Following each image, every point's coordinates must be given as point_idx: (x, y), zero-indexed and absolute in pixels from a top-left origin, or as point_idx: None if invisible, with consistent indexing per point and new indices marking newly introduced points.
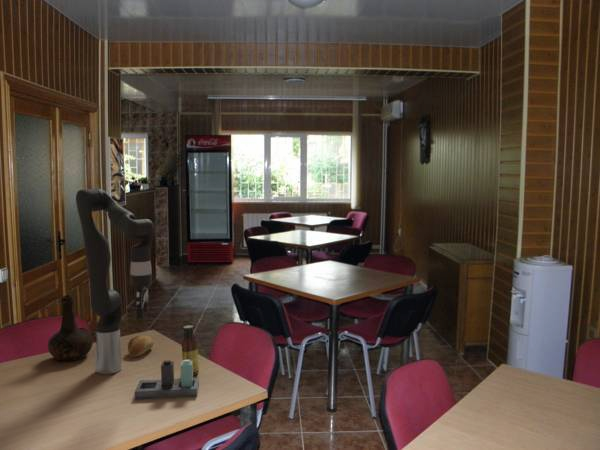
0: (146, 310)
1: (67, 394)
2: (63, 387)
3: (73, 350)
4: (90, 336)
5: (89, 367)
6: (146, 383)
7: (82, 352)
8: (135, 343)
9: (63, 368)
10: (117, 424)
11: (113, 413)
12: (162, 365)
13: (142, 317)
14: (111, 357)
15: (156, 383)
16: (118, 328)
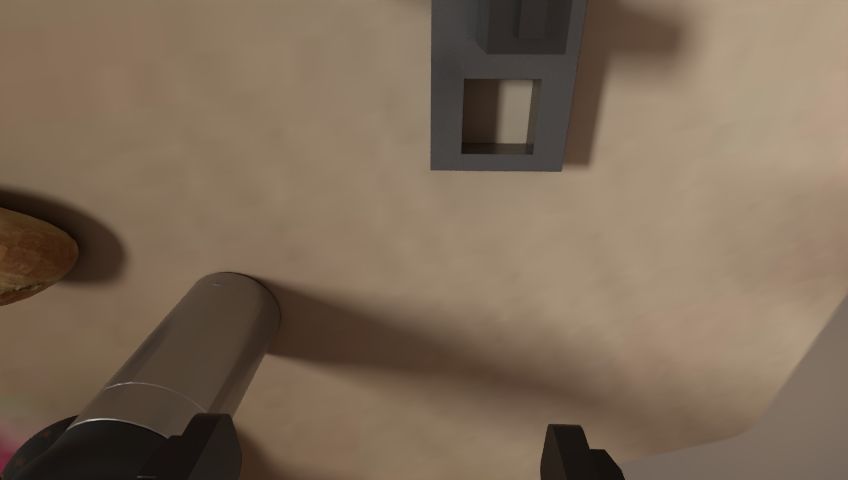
0: (214, 438)
1: (451, 383)
2: (392, 405)
3: None
4: None
5: None
6: (461, 133)
7: None
8: (6, 275)
9: None
10: (768, 183)
11: (660, 216)
12: (559, 44)
13: (581, 435)
14: (244, 340)
15: (463, 81)
16: (118, 430)
